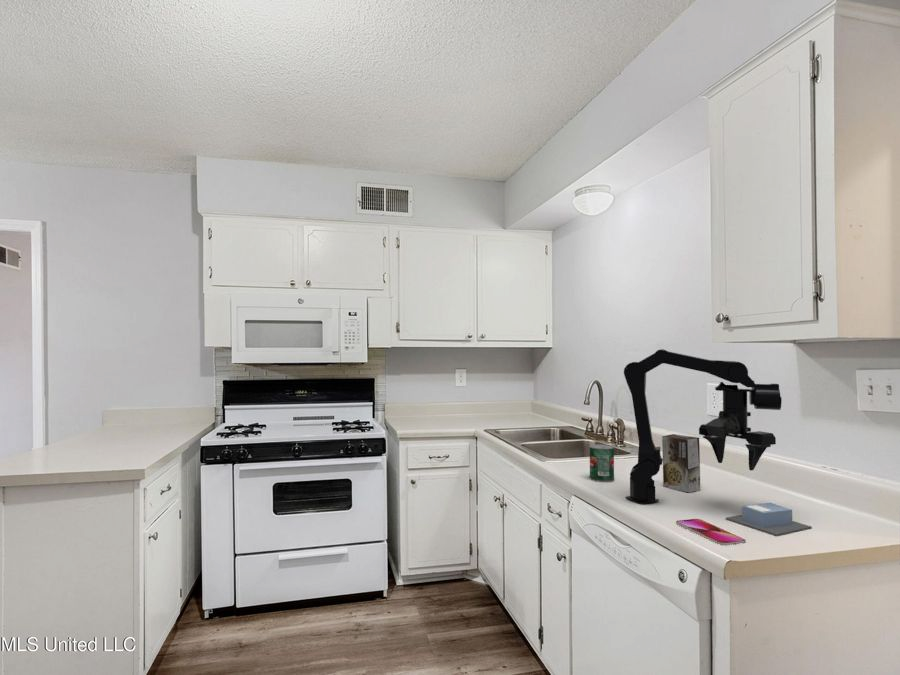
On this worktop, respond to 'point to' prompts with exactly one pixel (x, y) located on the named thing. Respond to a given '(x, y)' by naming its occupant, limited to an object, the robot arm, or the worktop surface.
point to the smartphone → (710, 532)
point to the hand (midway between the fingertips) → (735, 466)
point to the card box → (767, 515)
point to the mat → (771, 530)
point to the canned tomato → (602, 463)
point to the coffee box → (681, 462)
